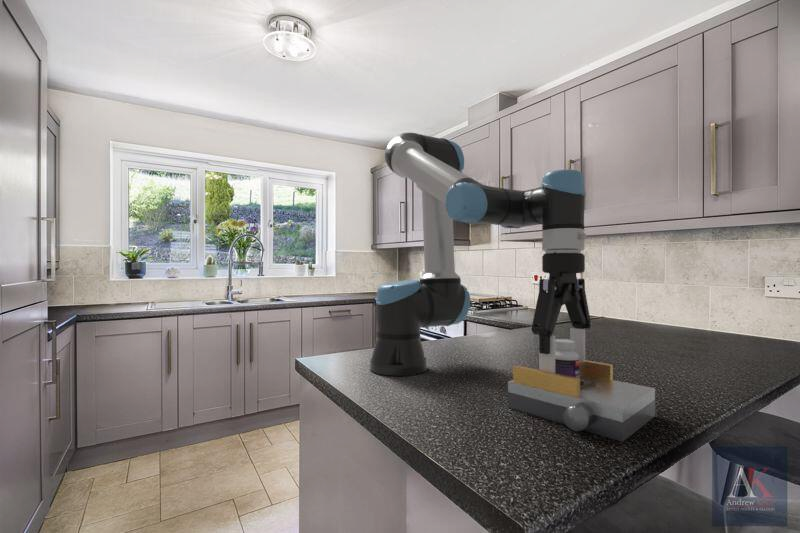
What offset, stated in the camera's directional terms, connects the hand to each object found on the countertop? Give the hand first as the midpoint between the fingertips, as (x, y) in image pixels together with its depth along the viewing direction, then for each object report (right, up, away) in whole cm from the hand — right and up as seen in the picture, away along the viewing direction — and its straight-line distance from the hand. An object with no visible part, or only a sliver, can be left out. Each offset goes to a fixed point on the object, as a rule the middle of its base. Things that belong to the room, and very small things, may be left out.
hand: (563, 366), depth 75 cm
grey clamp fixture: (+1, -8, -3) cm, 9 cm away
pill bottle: (0, -5, 0) cm, 5 cm away
